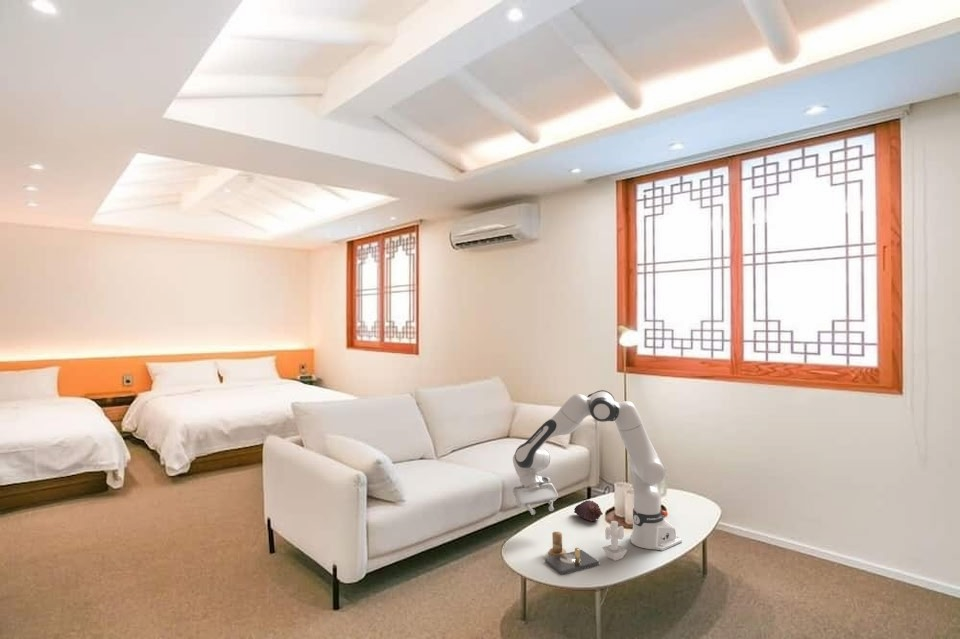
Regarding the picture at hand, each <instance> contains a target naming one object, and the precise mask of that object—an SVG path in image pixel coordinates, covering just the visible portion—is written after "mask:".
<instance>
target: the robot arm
mask: <svg viewBox="0 0 960 639" xmlns="http://www.w3.org/2000/svg"><path fill="white" fill-rule="evenodd" d="M588 416H591V417H592V418H593V419H594V420H595V421H598V422H603V423H604V422H605V423H606V422H615V424H616V427H617V429H618V433H619V435H620V438H621V440H622V443H623V446H624V448H625V449H626V451H627V453H628V455H629V456H628V465H629V471H630V478H631V484H632V490H633V509H632V518H633V521H632V522H633V523H632V531H631V537H630V543H632V544H633V545H634V546H636V547H639V548H643V549H648V550H657V551H661V552H662V551H665V550H667V549H670V548H671V547H674V546H676V545H678V544H681V543H682V541H683V540H682V538H681V537H680V536H679V535H677V532H676V529H675V526H674V525H672V524H671V523H670V522H669V521H667V520H666V519H665V518H664V517H668V515H669V513H668V511H665V510H661V493H660V490H659V486H658V485H660V484H661V483H662V482H663V481H664V480H665V478H666V470H665V467H664V465H663V463H662V461H661V459H660V457H659V455H658V453H657V450H656V449H655V448H654V445H653V443H652V442H651V440H650V437H649V435H648V432H647V429H646V427H645V425H644V422H643V420H642V417H641V414H640V413H639V410H638V409H637V407H636V406H635V404H633V402H631V401H628V400H625V401H624V400H623V401H620V402H619V401H616V400H615V398H614V396H613V394H612V393H611V392H610V391H607V390H604V389H601V390H597V391H595V392H593V393H589V394H588V395H587V396H586V395H584V394H582V393H574V394H573V395H572V396H570V398H568V399H567V400H566V401H565V403H564V404H562V406H561V408H559V410H558V411H557V412H556V413H555V414H554V415H553V416H552V417H551V418H549V419H547V420H546V421H545V422H544V423H543V424H541V426H539V428H538V429H537V430H536V431H535V432H534V433H533V434H532V435H531V436H530V437H529V439H527V440H526V441H525V442H524V443H522V444H520V445H519V446H517V448H516V449H515V453H514V454H513V456H512V462H513V467H514V470H515V472H516V475H517V476H518V478H519V482H520V485H518V486H514V487H513V489H512V493H513V495H514V498H515V502H516V506H517V507H518V508H524V507H525V509H526V510H527V511H528V512H530V515H533V516H534V515H535V514H536V510H535V508H534V509H533V508H532V507H531V506H535V505H540V504H544V503H545V504H546V503H548V504H549V506H548V510H549V512H553V511H554V510H555V508H554V502H555V501H557V499H558V497H559V494H558V491H557V490H556V489H557V488H555V486H554V484H553V483H552V482H551V478H549V477H548V476H541V475H538V472H541V471H543V470H545V469H547V467H548V466H549V465H550V462H551V456H550V453H549V451H548V450H547V449H545V448H542V447H543V445H545V443H546V442H547V441H548V440H550V439H551V438H554V437H559V436H567V435H570V434H572V433H573V432H574V431H575V430H577V428H579V426H580V425H581V424H582V422H583V421H584V420H585V418H586V417H588Z"/></svg>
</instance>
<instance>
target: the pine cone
mask: <svg viewBox="0 0 960 639" xmlns="http://www.w3.org/2000/svg"><path fill="white" fill-rule="evenodd" d="M573 510H574V511H573V512H574V513H575V514H576V515H577V516H578V517H580V518H583V519H584V520H587V521H590V522H591V521H592V522H595V521H596V520H599V518H600V517H601V516H603V512H602V510H601V508H600V506H599V504H598V503H597V502H595V501H593V500H589V499H588V500H584V501H582V502H580V503H579V504H577V505H576V506H575V507H574V509H573Z"/></svg>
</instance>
